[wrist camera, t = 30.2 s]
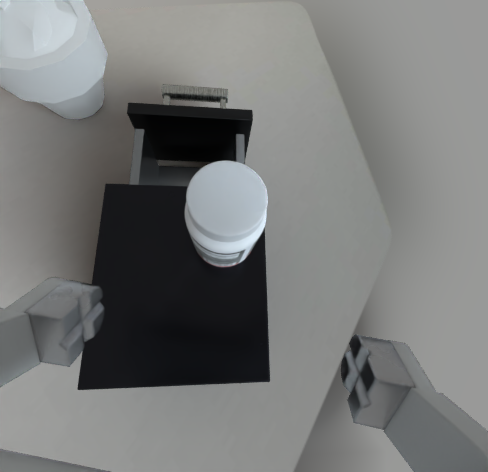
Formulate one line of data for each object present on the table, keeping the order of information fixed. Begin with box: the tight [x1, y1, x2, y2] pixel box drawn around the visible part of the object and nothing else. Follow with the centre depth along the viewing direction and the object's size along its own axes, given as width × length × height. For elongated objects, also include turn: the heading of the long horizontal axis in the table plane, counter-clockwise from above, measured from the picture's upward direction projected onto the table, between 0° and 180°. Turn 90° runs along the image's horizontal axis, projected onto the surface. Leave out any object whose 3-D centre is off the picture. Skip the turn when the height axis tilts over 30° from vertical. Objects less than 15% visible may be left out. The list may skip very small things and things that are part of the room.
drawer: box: [127, 84, 253, 186], centre depth 27 cm, size 18×12×8 cm, turn 1°
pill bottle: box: [185, 161, 268, 267], centre depth 17 cm, size 5×5×8 cm
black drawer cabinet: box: [78, 184, 270, 390], centre depth 24 cm, size 15×13×10 cm
